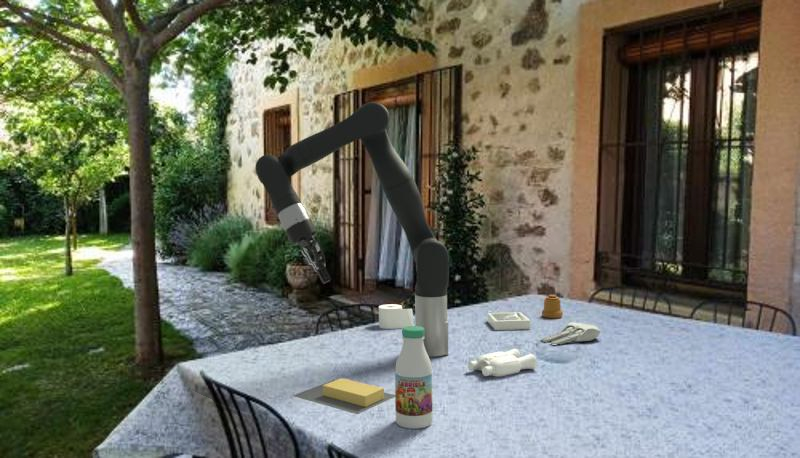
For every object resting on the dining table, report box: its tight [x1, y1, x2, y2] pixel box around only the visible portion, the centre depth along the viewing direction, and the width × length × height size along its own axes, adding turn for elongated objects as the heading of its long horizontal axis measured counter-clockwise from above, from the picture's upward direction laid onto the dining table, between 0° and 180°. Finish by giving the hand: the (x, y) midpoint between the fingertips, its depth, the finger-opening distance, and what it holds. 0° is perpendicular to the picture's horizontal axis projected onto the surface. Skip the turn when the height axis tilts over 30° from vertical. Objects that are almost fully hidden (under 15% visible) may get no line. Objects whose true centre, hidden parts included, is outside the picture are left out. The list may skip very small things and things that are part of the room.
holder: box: [486, 311, 531, 331], centre depth 215 cm, size 12×13×3 cm
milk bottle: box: [394, 325, 434, 430], centre depth 128 cm, size 8×8×20 cm
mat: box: [292, 379, 395, 415], centre depth 145 cm, size 20×14×1 cm
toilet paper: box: [378, 303, 414, 330], centre depth 216 cm, size 8×11×7 cm
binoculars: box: [467, 348, 538, 378], centre depth 164 cm, size 10×16×5 cm, turn 121°
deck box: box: [323, 377, 385, 407], centre depth 143 cm, size 2×6×13 cm
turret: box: [540, 321, 602, 345], centre depth 194 cm, size 10×20×5 cm, turn 115°
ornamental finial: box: [541, 294, 564, 319], centre depth 227 cm, size 8×8×8 cm
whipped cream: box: [504, 312, 521, 320], centre depth 214 cm, size 8×7×5 cm
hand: (327, 281), depth 163 cm, fingers closed
